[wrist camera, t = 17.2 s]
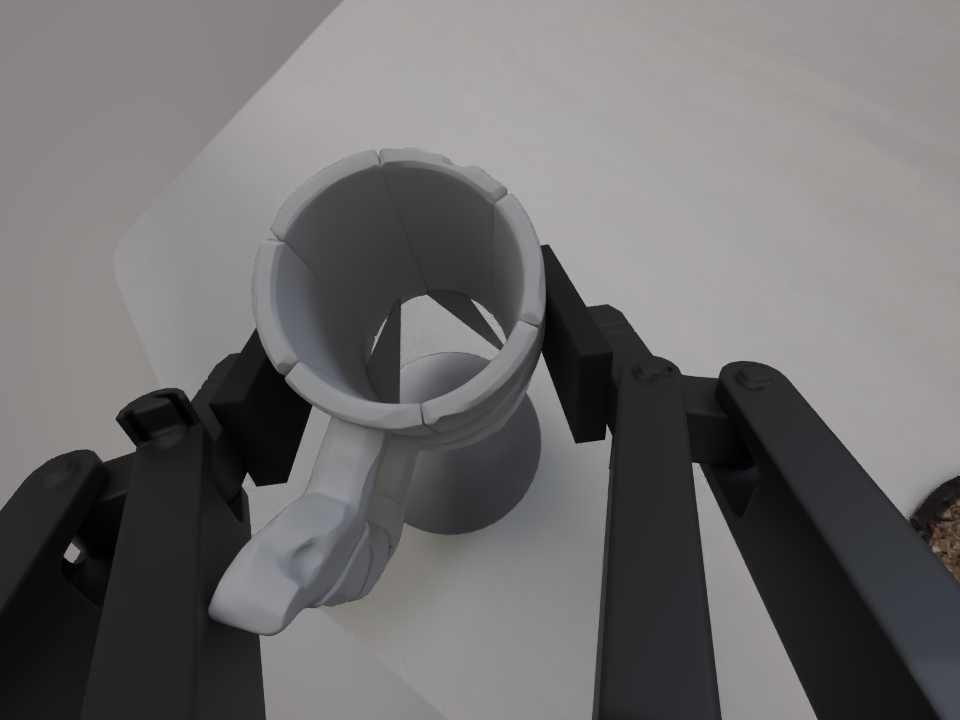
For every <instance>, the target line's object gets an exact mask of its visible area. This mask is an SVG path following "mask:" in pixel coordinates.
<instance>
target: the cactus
mask: <svg viewBox="0 0 960 720" xmlns="http://www.w3.org/2000/svg"><path fill="white" fill-rule="evenodd" d="M912 520H913V523H912V527H913V528H914V529H915V530H916V532H917V533H918V534H919V535H920V536H921V538H922V539H923V540H924V541H925V542H926V543H927V545H928V546H929V547H930V548H931V549H932V551H933V552H934V553H935V554H936V555H937V556H938V558H939V559H940V560H941V561H942V562H943V564H944V565H945V566H946V567H947V568H948V570H949V571H950V572H951V573H952V574H953V575H954V577H955V578H956V579H957V580H958V581H959V583H960V476H957V477H956V478H954V479H952V480H949V481H947V482H945V483H944V484H942V485H941V486H940V487H938V488H937V489H936V490H935V491H934V492H933V493H932V494H931V495H930V496H929V497H928V499H927V500H926V502H925V503H924V504H923V506H922V508H920V509H919V510H918V511H917V512H916V513H915V514H914V515H913V517H912Z"/></svg>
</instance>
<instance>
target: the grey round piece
mask: <svg viewBox="0 0 960 720" xmlns="http://www.w3.org/2000/svg"><path fill="white" fill-rule="evenodd" d="M490 362H491V361H490V360H488V359H485V358H482V357H480V356H477V355H472V354H468V353H460V352H443V353H436V354H431V355H428V356H424V357H421V358H419V359H417V360H414V361H412V362H410V363H408V364H407V365H405V366H403V367H402V368H400V404H409V403H419V404H422V403H424V402H426V401H428V400H431V399H434V398H437V397H440V396H443V395H445V394H447V393H450V392H452V391H454V390H456V389H457V388H459V387H461V386H463V385H464V384H466V383H467V382H468V381H470V380H471V379H472V378H474V377H475V376H476V375H477V374H479V373H480V372H481V371H482V370H483V369H485V368H486V367H487V366H488V365H489V364H490ZM540 449H541V435H540V427H539V422H538V418H537V415H536V411H535V408H534V406H533V404H532V402H531V400H530V398H529V396H528V395H527V393H525V395H524V397H523V399H522V401H521V403H520V405H519V406H518V408H517V409H516V410H515V412H514V413H513V414H512V415H511V416H510V418H509V419H508V420H507V421H506V424H505V425H504V426H503V427H502V428H501V429H500V430H499V431H497V432H496V433H494V434H490V435H489V436H487V437H486V438H484V439H482V440H480V441H478V442H476V443H473V444H471V445H468V446H465V447H462V448H458V449H453V450H447V451H422V450H419V451H418V455H417V458H416V462H415V466H414V470H413V475H412V479H411V484H410V488H409V493H408V500H407V507H406V511H405V514H404V522H406V523H407V524H409V525H411V526H413V527H416V528H418V529H420V530H423V531H427V532H431V533H436V534H445V535H453V534H464V533H470V532H473V531H476V530H480V529H483V528H485V527H487V526H489V525H491V524H493V523H495V522H496V521H498V520H500V519H501V518H503V517H504V516H505V515H506V514H508V513H509V512H510V511H511V510H512V509H513V508H514V507H515V506H516V505H517V504H518V503H519V502H520V500H521V499H522V498H523V496H524V495H525V493H526V492H527V490H528V489H529V487H530V485H531V483H532V481H533V479H534V476H535V473H536V470H537V467H538V463H539V458H540Z"/></svg>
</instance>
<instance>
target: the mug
mask: <svg viewBox="0 0 960 720" xmlns="http://www.w3.org/2000/svg"><path fill="white" fill-rule="evenodd" d="M271 231H272V233H273V234H274V235H275V236H276V237H277V239H278V240H279V241H278V240H273V239H268V240H265V241H262V242H261V243H260V245H259V249H258V252H257V255H256V259H255V265H254V270H253V276H252V298H253V312H254V317H255V322H256V327H257V330H258V333H259V337H260V340H261V343H262V345H263V347H264V349H265V351H266V354H267V356H268V357H269V359H270V361H271V362H272V364H273V366H274V367H275V369H276V370H277V371H278V372H279V373H281V374H283V375H285V376H286V378H285V381H286V382H287V383H288V385H289V386H290V387H291V388H292V389H293V390H294V391H295V392H296V393H298V394H299V395H300V396H301V397H302V398H304V399H305V400H306V401H308V402H309V403H310V404H312V405H313V406H315V407H317V408H318V409H320V410H322V411H323V412H325V413H327V414H329V415H331V419H330V422H329V425H328V428H327V432H326V434H325V437H324V440H323V442H322V445H321V448H320V450H319V453H318V456H317V459H316V462H315V465H314V468H313V471H312V475H311V478H310V481H309V484H308V486H307V488H306V490H305V492H304V494H303V496H302V497H301V498H299V499H297V500H296V501H294V502H293V503H292V504H290V505H289V506H288V507H286V508H285V509H284V510H283V511H282V512H281V513H280V514H279V515H277V516H276V517H275V518H274V519H273V520H272V521H270V522H269V523H268V524H267V525H266V526H264V527H263V528H262V529H261V530H260V531H259V532H258V533H257V534H256V535H255V536H254V537H252V538H251V540H250V541H249V542H248V543H247V544H246V545H245V546H244V547H243V548H242V549H241V551H240V552H239V553H238V554H237V556H236V557H235V559H234V560H233V562H232V563H231V565H230V566H229V567H228V569H227V570H226V572H225V573H224V575H223V577H222V579H221V580H220V582H219V584H218V586H217V589H216V591H215V593H214V595H213V597H212V599H211V602H210V604H209V607H208V613H209V616H210V618H211V619H213V620H215V621H217V622H220V623H222V624H225V625H228V626H232V627H235V628H238V629H242V630H245V631H248V632H252V633H255V634H259V635H264V636H272V635H275V634H278V633H279V632H281V631H282V630H284V629H285V628H286V627H287V626H288V625H289V624H290V623H291V621H292V620H293V619H294V618H295V617H296V615H297V614H298V613H299V612H300V611H301V610H302V609H304V608H318V607H320V606H322V605H325V606H330V607H333V606H336V605H338V604H343V603H345V602H350V601H355V600H359V599H362V598H363V597H365V596H366V595H367V594H368V593H369V592H370V591H371V589H372V588H373V586H374V585H375V584H376V582H377V581H378V580H379V578H380V576H381V574H382V572H383V571H384V569H385V567H386V565H387V563H388V562H389V560H390V558H391V557H392V555H393V553H394V552H395V550H396V548H397V545H398V543H399V540H400V537H401V533H402V528H403V524H404V514H405V511H406V507H407V500H408V493H409V488H410V484H411V479H412V475H413V470H414V466H415V462H416V458H417V455H418V451H419V450H422V451H447V450H453V449H458V448H462V447H465V446H468V445H471V444H473V443H476V442H478V441H480V440H482V439H484V438H486V437H487V436H489V435H490V434H494V433H496V432H497V431H499V430H500V429H501V428H502V427H503V426H504V425H505V424H506V421H507V420H508V419H509V418H510V416H511V415H512V414H513V413H514V412H515V410H516V409H517V408H518V406H519V405H520V403H521V401H522V399H523V397H524V395H525V393H526V391H527V389H528V386H529V383H530V381H531V377H532V374H533V372H534V370H535V368H536V365H537V363H538V360H539V357H540V354H541V350H542V346H543V342H544V337H545V324H546V304H547V299H546V288H545V272H544V261H543V256H542V251H541V247H540V243H539V240H538V237H537V234H536V232H535V229H534V227H533V224H532V222H531V220H530V218H529V216H528V215H527V213H526V211H525V210H524V208H523V206H522V205H521V203H520V202H519V201H518V199H517V198H516V197H515V196H514V195H513V194H512V193H510V194H508V195H507V188H506V187H505V186H504V185H502V184H501V183H500V182H498V181H497V180H495V179H494V178H492V177H491V176H490V175H489V174H487V173H486V172H485V171H484V170H483V169H481V168H480V167H477V166H469V167H459V166H456V165H454V164H453V163H452V162H451V161H450V160H449V159H448V158H447V157H445V156H443V155H439V154H434V153H430V152H426V151H422V150H419V149H416V148H402V149H382V150H380V159H379V157H378V154H377V152H376V151H375V150H368V151H364V152H360V153H356V154H353V155H351V156H348V157H346V158H343V159H341V160H339V161H337V162H335V163H333V164H331V165H329V166H328V167H326V168H324V169H322V170H321V171H319V172H318V173H316V174H315V175H313V176H312V177H311V178H309V179H308V180H307V181H305V182H304V183H303V184H302V185H301V186H300V187H298V188H297V189H296V190H295V191H294V192H293V193H292V194H291V195H290V197H289V198H288V199H287V200H286V201H285V203H284V204H283V206H282V207H281V208H280V210H279V211H278V213H277V215H276V218H275V221H274V223H273V225H272V227H271ZM426 294H427V295H428V296H430V297H431V298H432V299H434V300H435V301H436V302H437V303H439V304H440V305H441V306H443V307H444V308H445V309H447V310H448V311H449V312H451V313H452V314H453V315H454V316H456V317H457V318H458V319H460V320H461V321H462V322H464V323H465V324H466V325H468V326H469V327H470V328H471V329H473V330H474V331H475V332H477V333H478V334H479V335H481V336H482V337H483V338H485V339H486V340H487V341H488V342H490V343H491V344H492V345H494V346H495V347H496V348H498V349H499V350H500V352H499V353H498V355H497V356H496V357H495V358H494V359H493V360H492V361H491V362H490V364H489V365H488V366H487V367H486V368H485V369H483V370H482V371H481V372H480V373H479V374H477V375H476V376H475V377H474V378H472V379H471V380H470V381H468V382H467V383H466V384H464V385H463V386H461V387H459V388H457V389H456V390H454V391H452V392H450V393H447V394H445V395H443V396H440V397H437V398H434V399H431V400H428V401H426V402H424V403H422V404H419V403H409V404H400V328H401V305H402V304H403V303H405V302H406V301H408V300H410V299H412V298H414V297H418V296H423V295H426ZM471 299H472V300H474V301H476V302H478V303H479V304H481V305H482V306H483V307H484V308H485V309H486V310H487V311H488V312H489V313H490V314H493V316H494V318H495V320H496V321H497V322H498V323H499V325H500V326H501V328H502V330H503V332H504V334H505V337H506V340H507V341H506V343H505V345H503V343H502V342H501V341H500V339H499V338H498V337H497V335H496V334H495V332H494V331H493V330H492V328H491V327H490V325H489V324H488V323H487V321H486V320H485V319H484V317H483V316H482V314H481V313H480V312H479V310H478V309H477V308H476V306H475V305H474V303H473V302H472V301H471ZM387 317H388V318H387ZM386 318H387V321H386V323H385V325H384V328H383V330H382V332H381V334H380V337H379V339H378V341H377V344H376V346H375V348H374V350H373V353H372V355H371V351H372V347H373V344H374V341H375V337H374V336H376V335H377V334H378V332H379V329H380V327H381V325H382V324H383V322H384V321H385V319H386Z"/></svg>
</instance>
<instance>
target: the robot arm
mask: <svg viewBox="0 0 960 720" xmlns="http://www.w3.org/2000/svg"><path fill="white" fill-rule="evenodd" d="M540 247H541V251H542V256H543V261H544V272H545V288H546V299H547V304H546V324H545V337H544V342H543V346H542V350H541V351H542V354H543V357H544V359H545V362H546V365H547V367H548V370H549V373H550V376H551V378H552V381H553V384H554V386H555V389H556V392H557V394H558V397H559V400H560V403H561V405H562V408H563V411H564V413H565V416H566V419H567V422H568V424H569V427H570V430H571V432H572V435H573V438H574V441H575V443H576V444H577V443H584V442H592V441H599V440H605V435H606V424H607V425H608V427H609V430H610V432H611V434H612V436H613V437H612V446H611V455H610V464H609V470H610V473H609V487H608V501H607V515H606V530H605V544H604V558H603V572H602V586H601V601H600V615H599V629H598V643H597V657H596V672H595V686H594V700H593V714H592V720H722V718H721V709H720V701H719V692H718V684H717V675H716V666H715V658H714V649H713V641H712V632H711V623H710V615H709V606H708V598H707V589H706V581H705V572H704V563H703V555H702V546H701V538H700V529H699V520H698V512H697V503H696V495H695V486H694V477H693V469H692V462H693V463H699V464H700V467H701V469H702V471H703V473H704V475H705V477H706V479H707V482H708V484H709V486H710V488H711V490H712V492H713V495H714V497H715V499H716V501H717V503H718V505H719V508H720V510H721V512H722V514H723V516H724V518H725V520H726V523H727V525H728V527H729V529H730V531H731V533H732V536H733V538H734V540H735V542H736V544H737V546H738V548H739V551H740V553H741V555H742V557H743V559H744V561H745V564H746V566H747V568H748V570H749V572H750V574H751V577H752V579H753V581H754V583H755V585H756V587H757V589H758V592H759V594H760V596H761V598H762V600H763V602H764V605H765V607H766V609H767V611H768V613H769V615H770V617H771V620H772V622H773V624H774V626H775V628H776V630H777V633H778V635H779V637H780V639H781V641H782V643H783V646H784V648H785V650H786V652H787V654H788V656H789V658H790V661H791V663H792V665H793V667H794V669H795V671H796V674H797V676H798V678H799V680H800V682H801V684H802V686H803V689H804V691H805V693H806V695H807V697H808V699H809V702H810V704H811V706H812V708H813V710H814V712H815V715H816V717H817V719H818V720H960V583H959V581H958V580H957V579H956V578H955V577H954V575H953V574H952V573H951V572H950V571H949V570H948V568H947V567H946V566H945V565H944V564H943V562H942V561H941V560H940V559H939V558H938V556H937V555H936V554H935V553H934V552H933V551H932V549H931V548H930V547H929V546H928V545H927V543H926V542H925V541H924V540H923V539H922V538H921V536H920V535H919V534H918V533H917V532H916V530H915V529H914V528H913V527H912V526H911V524H910V523H909V522H908V521H907V520H906V519H905V517H904V516H903V515H902V514H901V513H900V511H899V510H898V509H897V508H896V507H895V505H894V504H893V503H892V502H891V501H890V500H889V498H888V497H887V496H886V495H885V494H884V492H883V491H882V490H881V489H880V488H879V487H878V485H877V484H876V483H875V482H874V481H873V479H872V478H871V477H870V476H869V475H868V473H867V472H866V471H865V470H864V469H863V468H862V466H861V465H860V464H859V463H858V462H857V460H856V459H855V458H854V457H853V456H852V455H851V453H850V452H849V451H848V450H847V449H846V447H845V446H844V445H843V444H842V443H841V441H840V440H839V439H838V438H837V437H836V436H835V434H834V433H833V432H832V431H831V430H830V428H829V427H828V426H827V425H826V424H825V422H824V421H823V420H822V419H821V418H820V417H819V415H818V414H817V413H816V412H815V411H814V409H813V408H812V407H811V406H810V405H809V404H808V402H807V401H806V400H805V399H804V398H803V396H802V395H801V394H800V393H799V392H798V390H797V389H796V388H795V387H794V386H793V385H792V383H791V382H790V381H789V380H788V379H787V377H785V376H784V375H783V374H782V373H781V372H779V371H778V370H776V369H774V368H772V367H770V366H768V365H765V364H761V363H757V362H750V361H738V362H732V363H729V364H727V365H725V366H724V367H722V370H721V372H720V374H719V378H707V377H694V376H687V375H682V374H681V372H680V370H679V368H678V367H677V366H676V365H675V364H673V363H672V362H671V361H668V360H666V359H664V358H661V357H657V356H653V355H652V354H651V352H650V351H649V350H648V348H647V347H646V345H645V344H644V343H643V341H642V340H641V339H640V337H639V336H638V334H637V333H636V332H634V329H633V328H632V326H631V325H630V323H629V324H628V321H627V319H626V318H625V317H624V315H623V314H622V312H620V311H619V310H617V309H615V308H613V307H612V306H610V305H608V304H607V305H599V306H591V307H586V305H585V304H584V302H583V300H582V299H581V297H580V295H579V294H578V292H577V291H576V289H575V287H574V286H573V284H572V282H571V281H570V279H569V277H568V276H567V274H566V272H565V271H564V269H563V268H562V266H561V264H560V263H559V261H558V259H557V258H556V256H555V254H554V253H553V251H552V249H551V248H550V246H549V245H541V246H540ZM285 378H286V376H285V375H283V374H281V373H279V372H278V371H277V370H276V369H275V367H274V366H273V364H272V362H271V361H270V359H269V357H268V356H267V354H266V351H265V349H264V347H263V345H262V343H261V340H260V337H259V333H258V330H257V327H256V329H255V331H254V332H253V334H252V335H251V337H250V338H249V340H248V342H247V343H246V345H245V346H244V348H243V350H242V351H241V353H235V354H230V355H228V356H227V357H226V358H225V359H223V360H222V361H221V362H220V363H218V364H217V365H216V366H215V367H214V369H213V370H212V372H211V373H210V375H209V376H208V380H206V381H205V382H204V384H203V385H202V387H201V388H202V389H199V391H198V392H197V394H196V395H195V397H194V398H193V400H192V401H191V402H190V401H189V399H188V398H187V396H186V394H185V393H184V391H182V390H180V389H178V388H166V389H161V390H157V391H153V392H151V393H148V394H146V395H143V396H141V397H139V398H137V399H136V400H134V401H132V402H131V403H129V404H128V405H127V406H126V407H125V408H124V409H122V410H121V411H120V412H119V414H118V416H117V417H116V421H117V422H118V423H119V424H120V426H121V427H122V428H123V430H124V431H125V432H126V434H127V435H128V436H129V437H130V439H131V440H132V442H133V443H134V444H135V445H136V447H137V448H136V452H133V453H131V454H127V455H125V456H121V457H118V458H116V459H112V460H110V461H106V462H102V460H101V459H100V458H99V457H98V456H97V454H96V453H95V452H93V451H90V450H87V449H86V450H75V451H72V452H69V453H66V454H62V455H59V456H57V457H55V458H52V459H51V460H49V461H47V462H46V463H44V464H43V465H42V466H41V467H39V468H38V469H36V470H35V471H34V472H33V473H32V474H31V475H30V476H28V477H27V478H26V480H24V482H23V483H22V484H21V486H20V487H19V488H18V489H17V491H16V492H15V493H14V494H13V496H12V497H11V498H10V499H9V501H8V502H7V503H6V505H5V506H4V507H3V508H2V510H1V511H0V720H266V715H265V702H264V690H263V677H262V664H261V652H260V639H259V634H255V633H252V632H248V631H245V630H242V629H238V628H235V627H232V626H228V625H225V624H222V623H220V622H217V621H215V620H213V619H211V618H210V616H209V613H208V607H209V604H210V602H211V599H212V597H213V595H214V593H215V591H216V589H217V586H218V584H219V582H220V580H221V579H222V577H223V575H224V573H225V572H226V570H227V569H228V567H229V566H230V565H231V563H232V562H233V560H234V559H235V557H236V556H237V554H238V553H239V552H240V551H241V549H242V548H243V547H244V546H245V545H246V544H247V543H248V542H249V541H250V540H251V526H250V513H249V500H248V496H247V494H246V492H245V490H244V488H243V487H242V483H243V481H244V479H245V476H246V474H247V472H248V473H249V475H250V476H251V478H252V480H253V481H254V483H255V485H256V486H257V487H259V486H266V485H273V484H281V483H287V481H288V478H289V475H290V472H291V469H292V466H293V463H294V460H295V457H296V454H297V451H298V448H299V445H300V442H301V439H302V436H303V433H304V430H305V427H306V424H307V421H308V418H309V415H310V412H311V409H312V404H310V403H309V402H308V401H306V400H305V399H304V398H302V397H301V396H300V395H299V394H298V393H296V392H295V391H294V390H293V389H292V388H291V387H290V386H289V385H288V383H287V382H286V381H285ZM70 543H73V544H74V545H75V546H76V547H77V548H78V549H79V550H80V551H81V552H80V554H79V556H78V558H77V559H76V560H75V562H74V563H71V562H69V561H68V560H67V559H65V558H64V554H65V552H66V550H67V548H68V546H69V545H70Z"/></svg>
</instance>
